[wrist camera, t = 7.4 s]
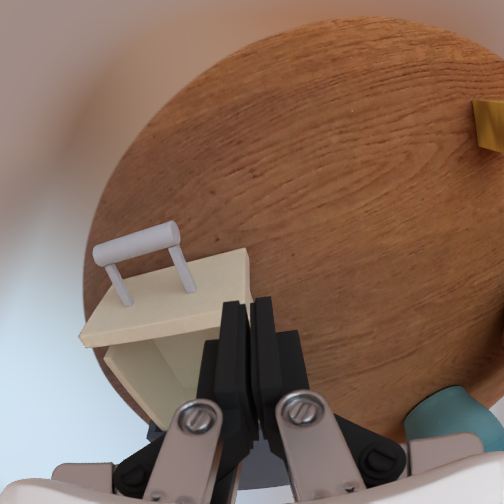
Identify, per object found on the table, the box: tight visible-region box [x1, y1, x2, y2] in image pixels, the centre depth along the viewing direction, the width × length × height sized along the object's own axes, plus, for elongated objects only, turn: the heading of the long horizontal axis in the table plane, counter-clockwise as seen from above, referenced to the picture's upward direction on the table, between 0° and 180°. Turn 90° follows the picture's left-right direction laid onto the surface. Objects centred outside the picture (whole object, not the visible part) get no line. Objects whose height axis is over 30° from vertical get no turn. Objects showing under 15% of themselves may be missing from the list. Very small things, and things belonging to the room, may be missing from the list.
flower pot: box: [404, 386, 504, 453], centre depth 30 cm, size 18×18×17 cm
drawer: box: [78, 221, 260, 432], centre depth 23 cm, size 20×12×8 cm, turn 15°
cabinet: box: [147, 419, 290, 490], centre depth 29 cm, size 16×14×10 cm
